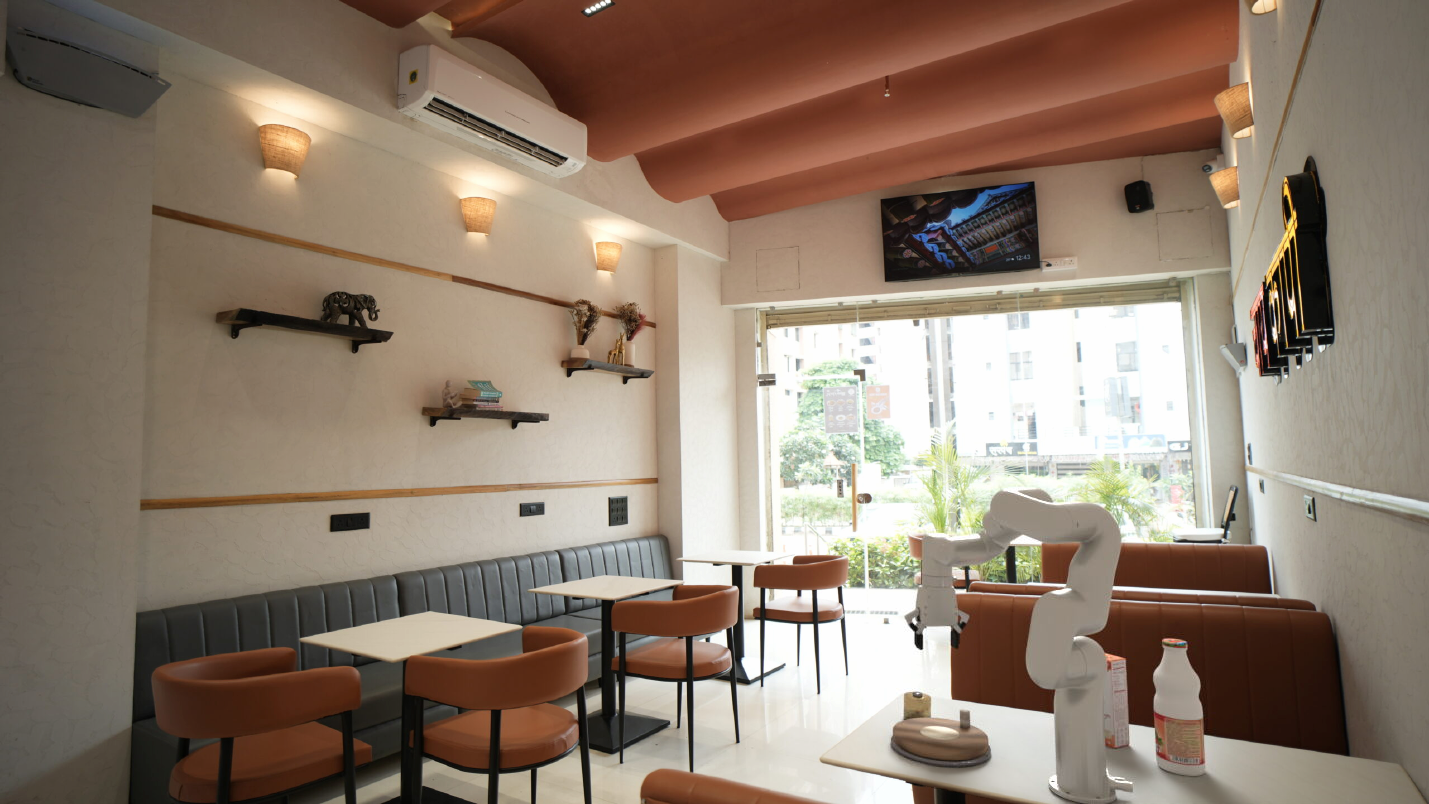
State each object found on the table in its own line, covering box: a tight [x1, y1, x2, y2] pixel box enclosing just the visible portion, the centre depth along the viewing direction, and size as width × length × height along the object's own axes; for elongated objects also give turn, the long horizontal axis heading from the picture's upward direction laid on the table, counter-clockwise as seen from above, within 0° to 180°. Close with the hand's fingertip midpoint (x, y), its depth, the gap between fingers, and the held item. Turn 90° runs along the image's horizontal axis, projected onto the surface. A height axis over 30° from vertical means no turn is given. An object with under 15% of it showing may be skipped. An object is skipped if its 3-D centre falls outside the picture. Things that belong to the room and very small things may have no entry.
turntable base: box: [890, 734, 992, 769], centre depth 179 cm, size 23×23×1 cm
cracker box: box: [1104, 652, 1130, 749], centre depth 186 cm, size 14×6×21 cm, turn 25°
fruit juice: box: [1152, 638, 1206, 777], centre depth 168 cm, size 9×9×28 cm
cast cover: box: [903, 691, 932, 720], centre depth 199 cm, size 7×7×7 cm
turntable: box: [892, 708, 990, 760], centre depth 179 cm, size 22×22×6 cm
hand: (937, 647), depth 193 cm, fingers open, 9 cm apart
